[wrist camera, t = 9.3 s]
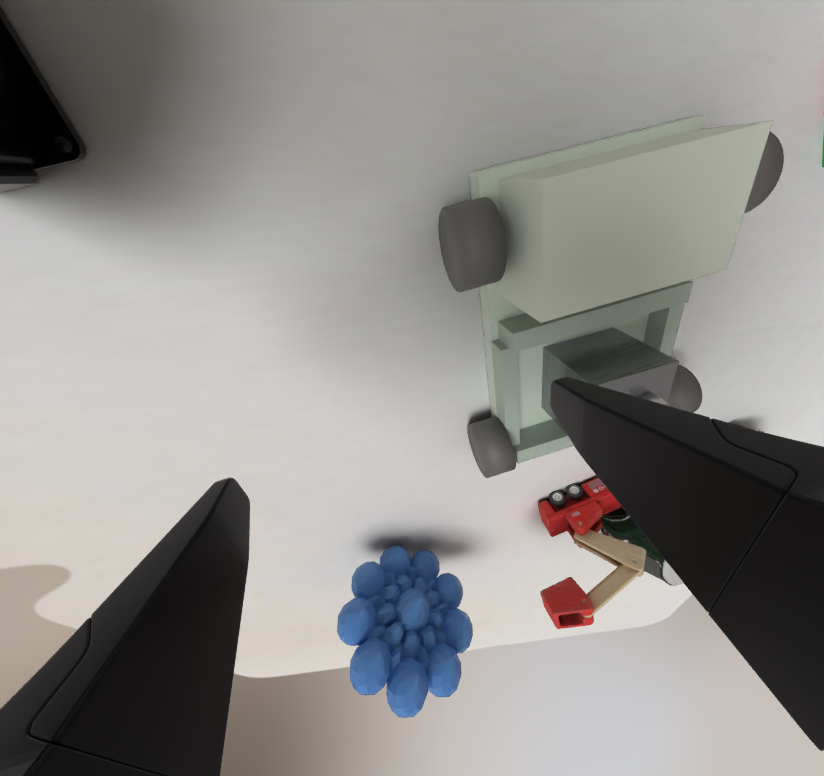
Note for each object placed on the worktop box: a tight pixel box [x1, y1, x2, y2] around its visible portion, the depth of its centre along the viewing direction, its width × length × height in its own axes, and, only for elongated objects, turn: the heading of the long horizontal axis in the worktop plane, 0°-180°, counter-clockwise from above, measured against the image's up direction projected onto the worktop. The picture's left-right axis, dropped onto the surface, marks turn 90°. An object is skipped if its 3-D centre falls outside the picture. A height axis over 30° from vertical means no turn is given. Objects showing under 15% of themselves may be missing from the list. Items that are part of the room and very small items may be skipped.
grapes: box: [337, 545, 473, 718], centre depth 27 cm, size 12×7×12 cm, turn 65°
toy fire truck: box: [538, 477, 646, 629], centre depth 29 cm, size 3×14×10 cm, turn 110°
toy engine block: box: [541, 327, 679, 433], centre depth 21 cm, size 5×5×6 cm
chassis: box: [439, 115, 784, 478], centre depth 21 cm, size 20×16×5 cm
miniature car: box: [598, 424, 764, 586], centre depth 33 cm, size 9×18×8 cm, turn 123°
